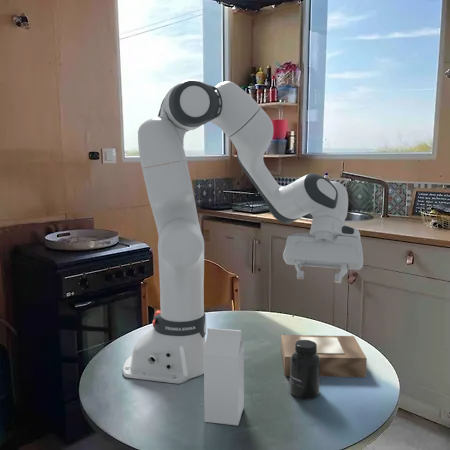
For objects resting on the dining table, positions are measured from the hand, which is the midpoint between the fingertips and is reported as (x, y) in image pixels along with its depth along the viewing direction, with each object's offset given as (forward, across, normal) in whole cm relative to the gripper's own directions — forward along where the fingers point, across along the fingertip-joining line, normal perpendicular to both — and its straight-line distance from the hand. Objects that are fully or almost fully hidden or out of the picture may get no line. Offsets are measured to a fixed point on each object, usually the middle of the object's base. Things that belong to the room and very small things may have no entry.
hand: (318, 280), depth 113 cm
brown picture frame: (+14, 0, +19) cm, 24 cm away
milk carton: (+37, -14, -3) cm, 39 cm away
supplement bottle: (+26, 0, +8) cm, 27 cm away
